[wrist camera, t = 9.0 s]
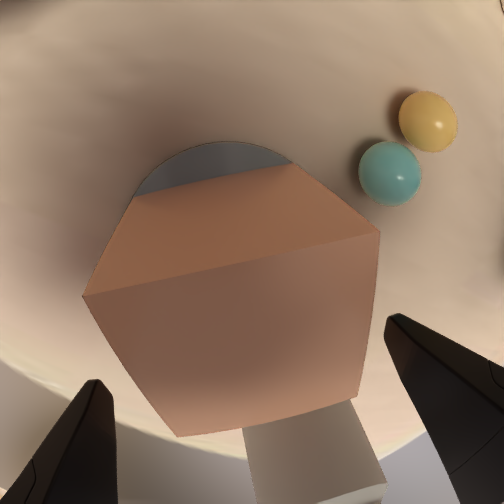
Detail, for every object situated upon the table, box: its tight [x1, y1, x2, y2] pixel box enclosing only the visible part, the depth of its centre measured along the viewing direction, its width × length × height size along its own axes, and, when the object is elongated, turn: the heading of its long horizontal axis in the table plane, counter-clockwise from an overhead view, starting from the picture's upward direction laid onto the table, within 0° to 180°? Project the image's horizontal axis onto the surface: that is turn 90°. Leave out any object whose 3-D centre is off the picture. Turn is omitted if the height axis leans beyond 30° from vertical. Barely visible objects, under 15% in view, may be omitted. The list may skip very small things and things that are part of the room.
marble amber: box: [399, 91, 458, 153], centre depth 11 cm, size 3×3×3 cm
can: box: [242, 399, 388, 504], centre depth 15 cm, size 8×8×12 cm
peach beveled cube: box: [82, 163, 380, 437], centre depth 11 cm, size 7×7×7 cm
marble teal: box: [358, 141, 421, 207], centre depth 12 cm, size 3×3×3 cm
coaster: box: [130, 142, 292, 203], centre depth 14 cm, size 10×10×1 cm
